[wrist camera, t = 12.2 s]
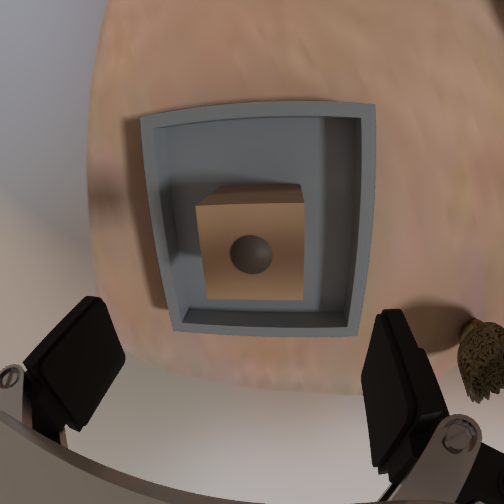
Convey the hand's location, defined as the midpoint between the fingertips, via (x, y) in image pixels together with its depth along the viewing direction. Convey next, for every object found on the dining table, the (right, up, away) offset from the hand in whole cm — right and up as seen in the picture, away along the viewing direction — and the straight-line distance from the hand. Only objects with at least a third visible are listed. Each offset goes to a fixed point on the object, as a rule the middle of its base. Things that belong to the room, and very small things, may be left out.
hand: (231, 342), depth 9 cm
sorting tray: (+1, +5, +14) cm, 15 cm away
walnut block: (+1, +5, +13) cm, 14 cm away
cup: (+25, -6, +16) cm, 30 cm away
